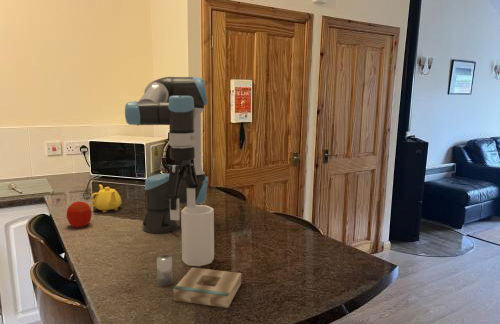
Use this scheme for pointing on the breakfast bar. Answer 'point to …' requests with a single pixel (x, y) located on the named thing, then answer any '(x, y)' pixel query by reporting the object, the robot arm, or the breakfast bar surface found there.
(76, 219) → the apple
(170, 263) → the grey metal cylinder
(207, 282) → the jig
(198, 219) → the cup
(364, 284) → the breakfast bar surface
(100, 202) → the teapot
